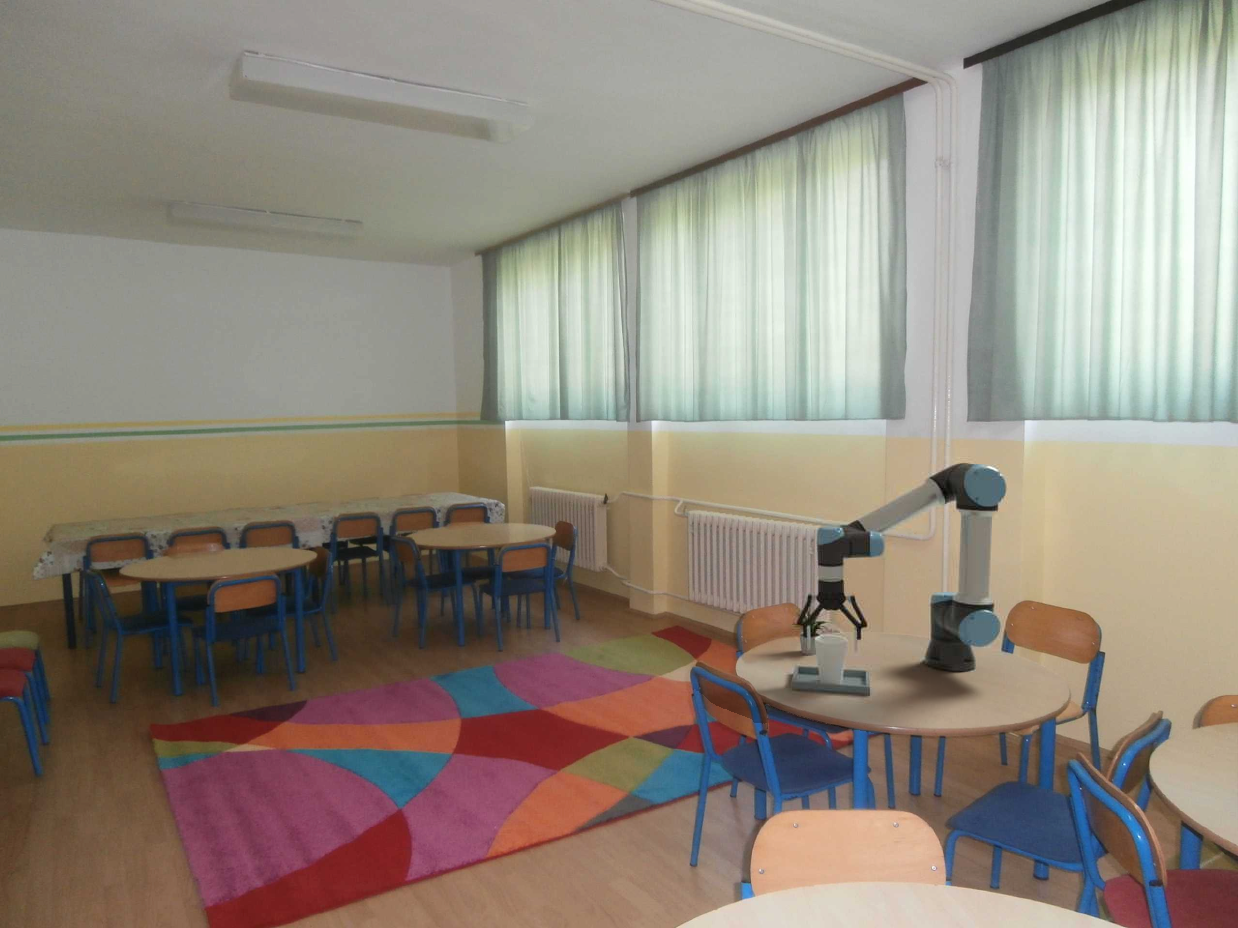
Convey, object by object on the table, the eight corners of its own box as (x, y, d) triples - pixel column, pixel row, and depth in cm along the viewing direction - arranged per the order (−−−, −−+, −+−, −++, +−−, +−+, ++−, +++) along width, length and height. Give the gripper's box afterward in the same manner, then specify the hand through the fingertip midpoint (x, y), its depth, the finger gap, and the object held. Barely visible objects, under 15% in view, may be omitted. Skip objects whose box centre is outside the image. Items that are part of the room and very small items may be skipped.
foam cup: (844, 677, 253) (844, 635, 253) (850, 687, 244) (850, 643, 244) (812, 676, 254) (812, 634, 254) (817, 686, 245) (816, 643, 244)
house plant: (788, 659, 275) (788, 610, 274) (781, 647, 289) (781, 600, 288) (832, 658, 274) (832, 609, 273) (823, 647, 288) (823, 600, 287)
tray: (869, 678, 254) (869, 670, 254) (869, 695, 239) (869, 686, 239) (795, 673, 260) (795, 665, 260) (791, 689, 245) (791, 681, 245)
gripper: (874, 577, 248) (875, 647, 249) (789, 575, 254) (790, 643, 256) (875, 582, 240) (876, 654, 242) (787, 580, 247) (788, 650, 249)
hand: (832, 649), depth 249 cm, fingers open, 13 cm apart
